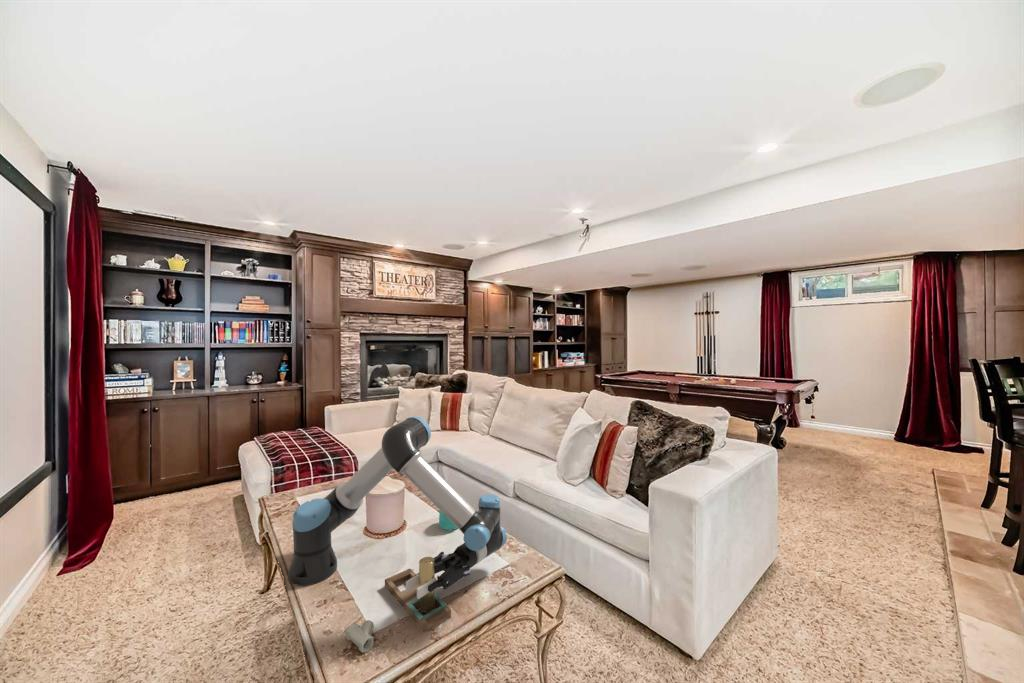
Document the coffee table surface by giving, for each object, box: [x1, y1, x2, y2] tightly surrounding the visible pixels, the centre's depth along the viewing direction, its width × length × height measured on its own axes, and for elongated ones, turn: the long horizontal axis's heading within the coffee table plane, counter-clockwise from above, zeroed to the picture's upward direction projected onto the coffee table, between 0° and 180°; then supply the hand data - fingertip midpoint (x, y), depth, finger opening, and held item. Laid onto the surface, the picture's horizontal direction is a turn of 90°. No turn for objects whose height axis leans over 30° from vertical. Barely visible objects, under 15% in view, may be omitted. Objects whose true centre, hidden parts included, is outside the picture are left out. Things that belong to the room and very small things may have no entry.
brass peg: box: [418, 556, 436, 613], centre depth 118 cm, size 4×4×14 cm
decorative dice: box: [438, 510, 458, 531], centre depth 170 cm, size 8×8×8 cm
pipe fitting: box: [345, 619, 375, 653], centre depth 108 cm, size 8×4×7 cm
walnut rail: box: [384, 568, 452, 634], centre depth 123 cm, size 26×9×3 cm, turn 41°
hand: (412, 590), depth 114 cm, fingers closed on brass peg, 4 cm apart
